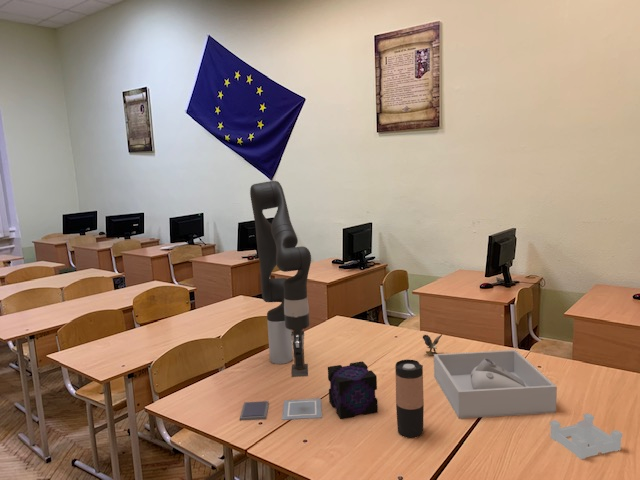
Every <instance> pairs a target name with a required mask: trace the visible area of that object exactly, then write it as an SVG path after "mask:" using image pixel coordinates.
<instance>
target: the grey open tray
mask: <svg viewBox="0 0 640 480" xmlns="http://www.w3.org/2000/svg"><path fill="white" fill-rule="evenodd" d="M485 358H487V359H490V360H491V361H493V362H494V363H495V365H497V366H499V367H501V368H503V369H504V370H506V371H508V372H510V373H511V374H513V375H514V376H516V377H518V378H519V379H521V380H522V381H523V382H524V383H525V385H526V386H527V387H512V388H494V389H476V390H474V389H473V387H472V384H471V372H472V371H473V369H474V368H475V367H477V366H478V365H479V364H480V363H481V362H482V361H483V360H484V359H485ZM433 377H434V379H435V380H436V382H437V384H438V385H439V388H440V389H441V391H442V393H443V394H444V396H445V397H446V399H447V401H448V403H449V404H450V406H451V408H452V409H453V411H454V413H455V414H456V416H457V418H458V419H471V418H472V419H473V418H489V417H490V418H491V417H506V416H507V417H509V416H512V417H513V416H523V415H524V416H526V415H541V414H556V413H557V394H558V393H557V392H558V391H557V389H558V387H557V385H556V384H555V383H554V382H553V381H551V380H550V379H549V378H548V377H547V376H545V375H544V374H543V373H542V372H541V371H540V370H539V369H537V367H536V366H535V365H533V364H532V363H531V361H529V360H528V359H526V358H525V357H524V356H523V355H522V354H521V353H520V352H518V350H517V349H509V350H490V351H489V350H488V351H473V352H472V351H471V352H452V353H438V354H433Z"/></svg>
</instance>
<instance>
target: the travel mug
mask: <svg viewBox="0 0 640 480" xmlns="http://www.w3.org/2000/svg"><path fill="white" fill-rule="evenodd" d="M423 366H424V365H423V364H420V362H419V361H418V360H415V359H402V360H399V361H397V362H396V363H395V365H394V367H395V368H394V369H395V406H396V424H397V426H396V427H397V432H398V434H399V436H401V435H402V437H403V436H404V438H406V437H407V439H416V438H415V437H417V438H420V437H421V436H422V435H423V434H424V406H425V405H424V402H425V401H424V372H423V371H424V369H423V368H424V367H423Z"/></svg>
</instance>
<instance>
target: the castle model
mask: <svg viewBox="0 0 640 480" xmlns="http://www.w3.org/2000/svg"><path fill="white" fill-rule="evenodd" d="M582 417H583V419H582V420H579V421H577V422H576V424H573V425H568V426H563V427H561V422H559V421H558V420H557V419H555V420H551V421H549V425H550V439H552V440H553V441H556V442H557V443H558V444H560V445H561V446H563V447H564V448H565V449H567V450H568V451H570V452H571V453H573V455H575V456H576V457H577V459H579V460H585V459H586V458H588V457H594V456H597V455H599V453H601V454H606V453H611V452H619V451H621V448H622V438H623V432H621V431H619V430H617V429H615V430H611V431H610V434H609V433H607V432H606V431H603V429H601V428H599V427H598V426H596V425H594V424H593V423H594V420H595V416H594V415H592V414H591V413H589V412H588V413H584V414H583V415H582ZM568 437H571V438H570V439H571V440H570V439H568ZM597 438H598V439H597ZM618 450H619V451H618Z"/></svg>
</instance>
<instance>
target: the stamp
mask: <svg viewBox="0 0 640 480" xmlns="http://www.w3.org/2000/svg"><path fill="white" fill-rule="evenodd" d="M292 351H294V349H293V348H292ZM302 351H303V368H296V362H295V357H294V356H293V361H294V362H293V363H294V364H293V363H292V364H291V369H290V372H291V373H290V374H291V375H290V376H291V378H300V377H309V364H308V363H305V347H304V348H303V349H302ZM296 353H301V352H296Z"/></svg>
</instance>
